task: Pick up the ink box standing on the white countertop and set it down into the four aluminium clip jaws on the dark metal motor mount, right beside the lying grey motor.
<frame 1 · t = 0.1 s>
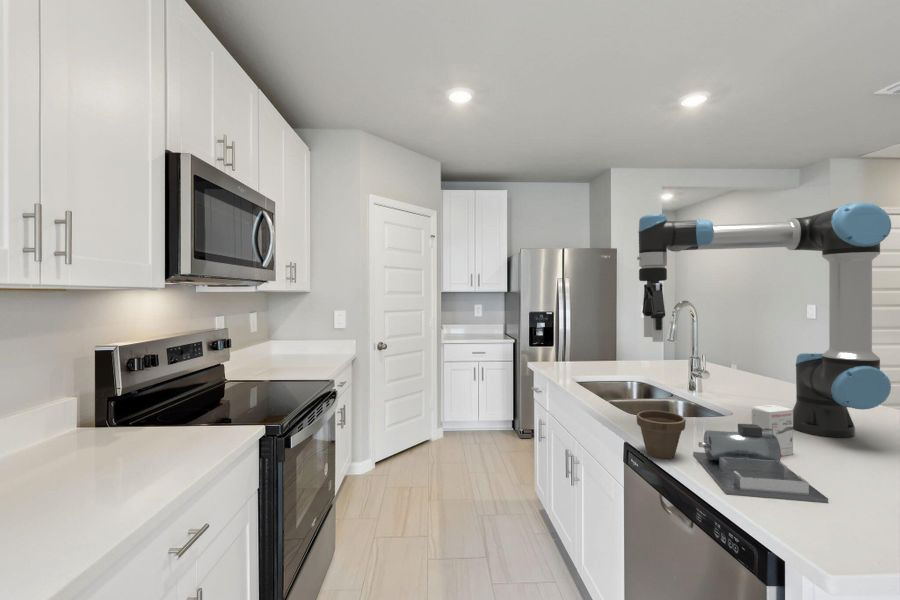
hand: (653, 339, 132), 28 cm above the worktop, fingers open, 13 cm apart
motor mount: (751, 475, 101), on the worktop
ink box: (772, 454, 115), on the worktop
flower pot: (660, 455, 115), on the worktop
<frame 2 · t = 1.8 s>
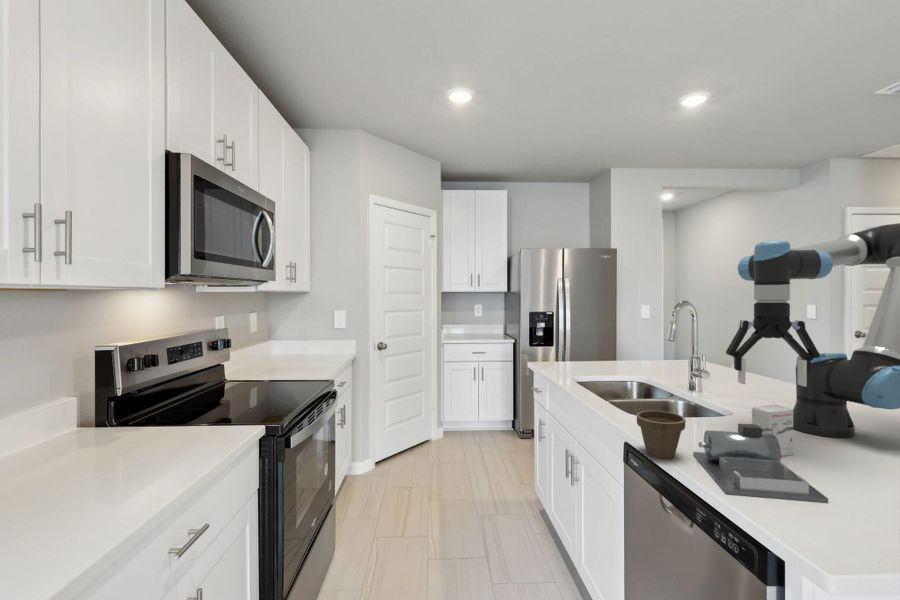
hand: (771, 384, 115), 18 cm above the worktop, fingers open, 13 cm apart
nothing on the worktop moved.
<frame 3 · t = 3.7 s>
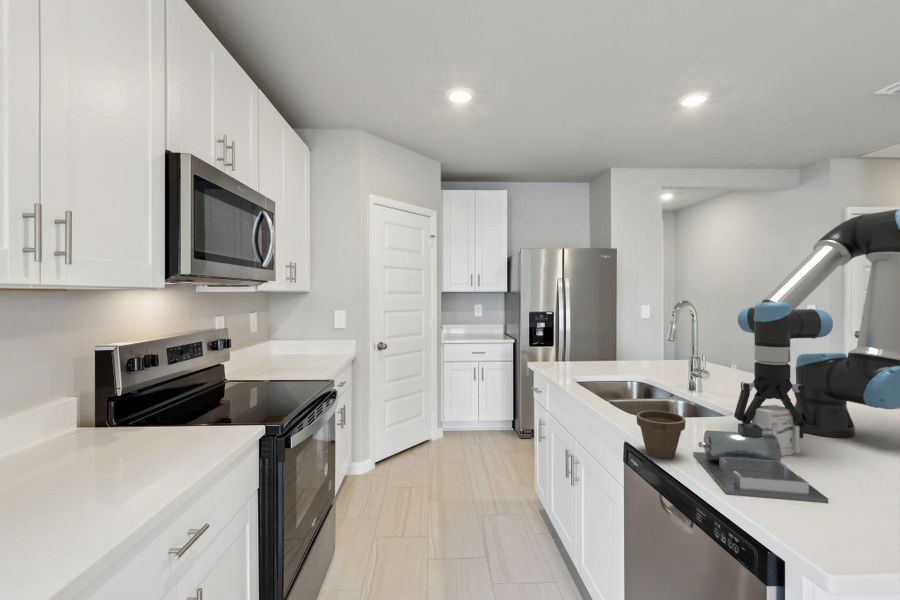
hand: (772, 449, 115), 1 cm above the worktop, fingers closed on ink box, 9 cm apart
ink box: (772, 454, 115), on the worktop, touching gripper
everything else where it was.
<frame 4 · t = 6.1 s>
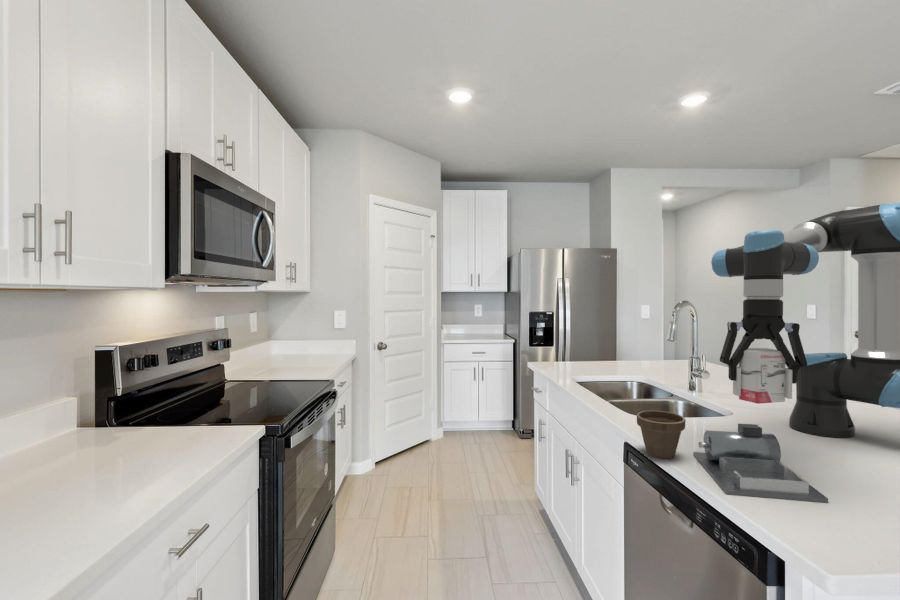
hand: (761, 396, 102), 18 cm above the worktop, fingers closed on ink box, 9 cm apart
ink box: (761, 401, 102), point 16 cm above the worktop, touching gripper
everything else where it was.
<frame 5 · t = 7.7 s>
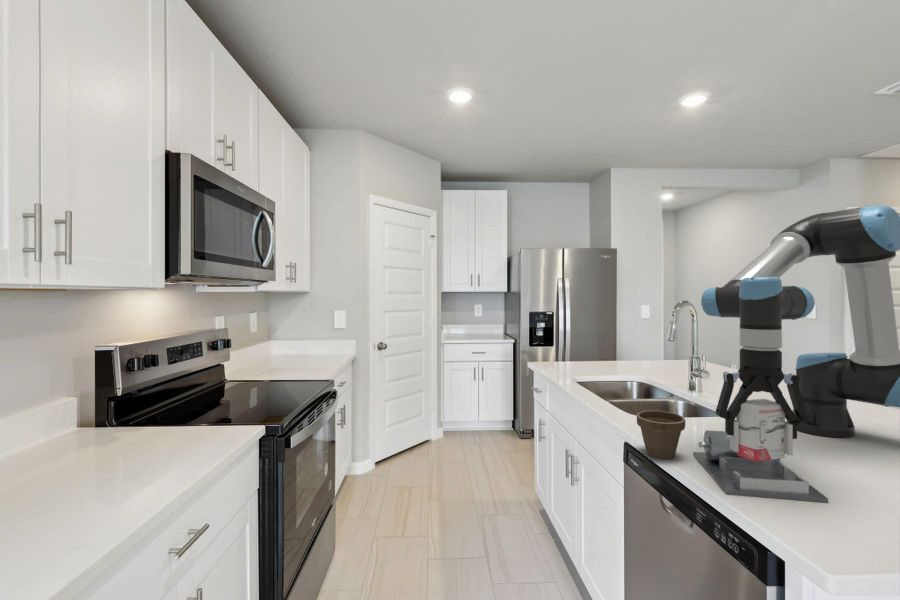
hand: (760, 451, 97), 7 cm above the worktop, fingers closed on ink box, 9 cm apart
ink box: (760, 457, 97), point 6 cm above the worktop, touching gripper
everything else where it was.
when the fingers open (4 cm above the worktop, at t = 8.8 s): ink box drops 2 cm, resting on motor mount.
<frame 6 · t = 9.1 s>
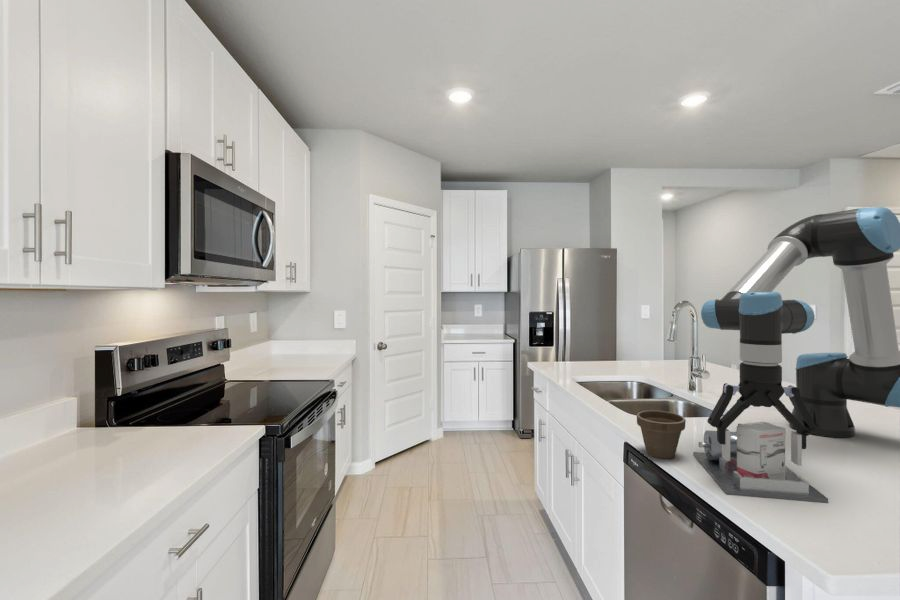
hand: (760, 461, 97), 5 cm above the worktop, fingers open, 13 cm apart
ink box: (760, 481, 97), point 1 cm above the worktop, touching motor mount
everything else where it was.
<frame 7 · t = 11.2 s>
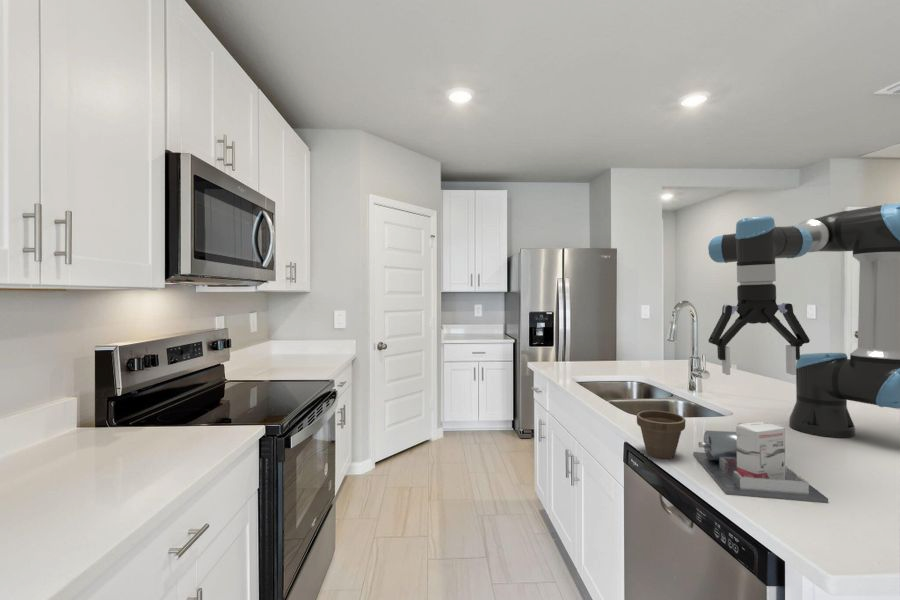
hand: (758, 374, 105), 22 cm above the worktop, fingers open, 13 cm apart
nothing on the worktop moved.
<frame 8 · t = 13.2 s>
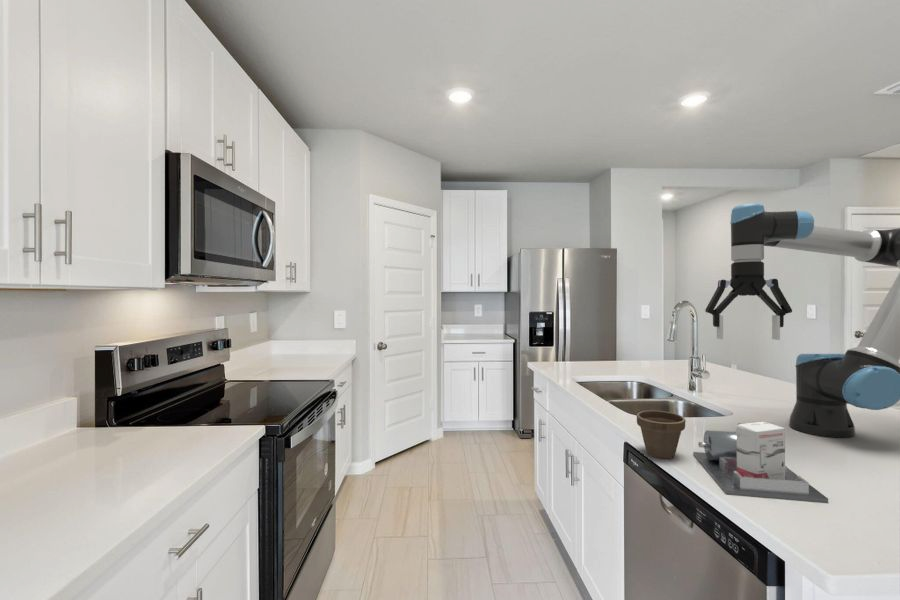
hand: (747, 339, 122), 29 cm above the worktop, fingers open, 13 cm apart
nothing on the worktop moved.
at the end: ink box 0.1 cm from the target spot on the motor mount, point 0.6 cm above the motor mount's base; ink box tilted 0°; the gripper is holding nothing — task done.
